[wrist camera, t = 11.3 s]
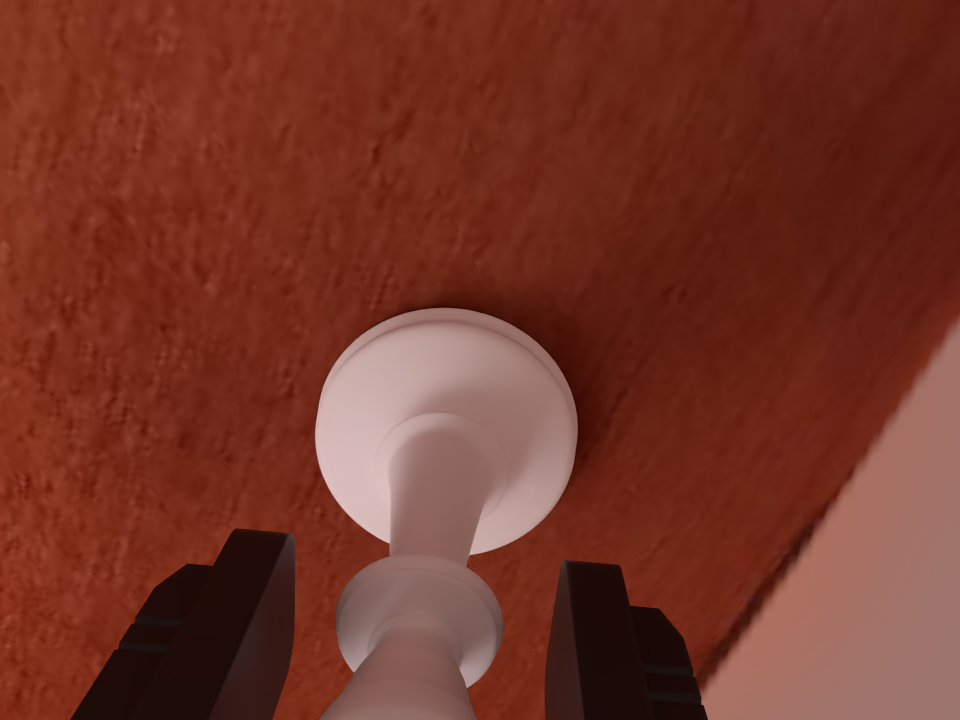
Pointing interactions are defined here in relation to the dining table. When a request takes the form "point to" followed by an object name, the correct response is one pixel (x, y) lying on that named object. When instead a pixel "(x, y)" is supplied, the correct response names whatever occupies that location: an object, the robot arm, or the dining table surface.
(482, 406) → the chess piece
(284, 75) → the dining table surface
